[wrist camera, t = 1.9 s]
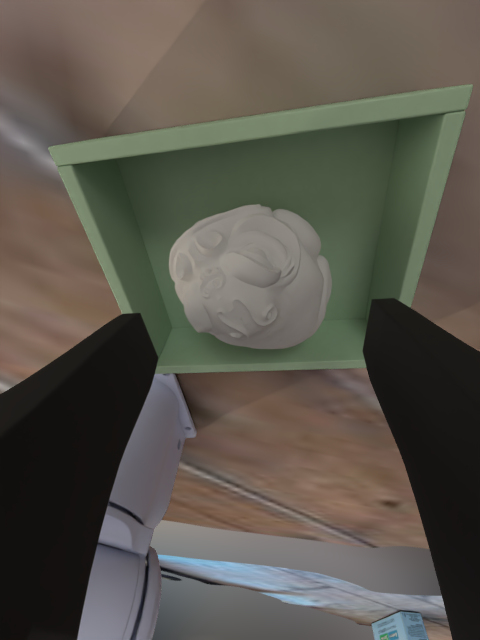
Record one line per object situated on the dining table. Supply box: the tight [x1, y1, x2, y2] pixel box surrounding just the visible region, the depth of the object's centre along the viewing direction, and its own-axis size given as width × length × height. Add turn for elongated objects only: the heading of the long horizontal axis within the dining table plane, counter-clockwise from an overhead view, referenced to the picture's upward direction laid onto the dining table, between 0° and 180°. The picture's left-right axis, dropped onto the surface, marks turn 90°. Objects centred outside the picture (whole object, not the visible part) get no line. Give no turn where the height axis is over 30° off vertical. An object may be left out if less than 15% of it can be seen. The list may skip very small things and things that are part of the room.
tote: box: [49, 84, 473, 374], centre depth 13 cm, size 11×13×4 cm
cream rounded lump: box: [169, 204, 332, 349], centre depth 12 cm, size 6×7×7 cm
